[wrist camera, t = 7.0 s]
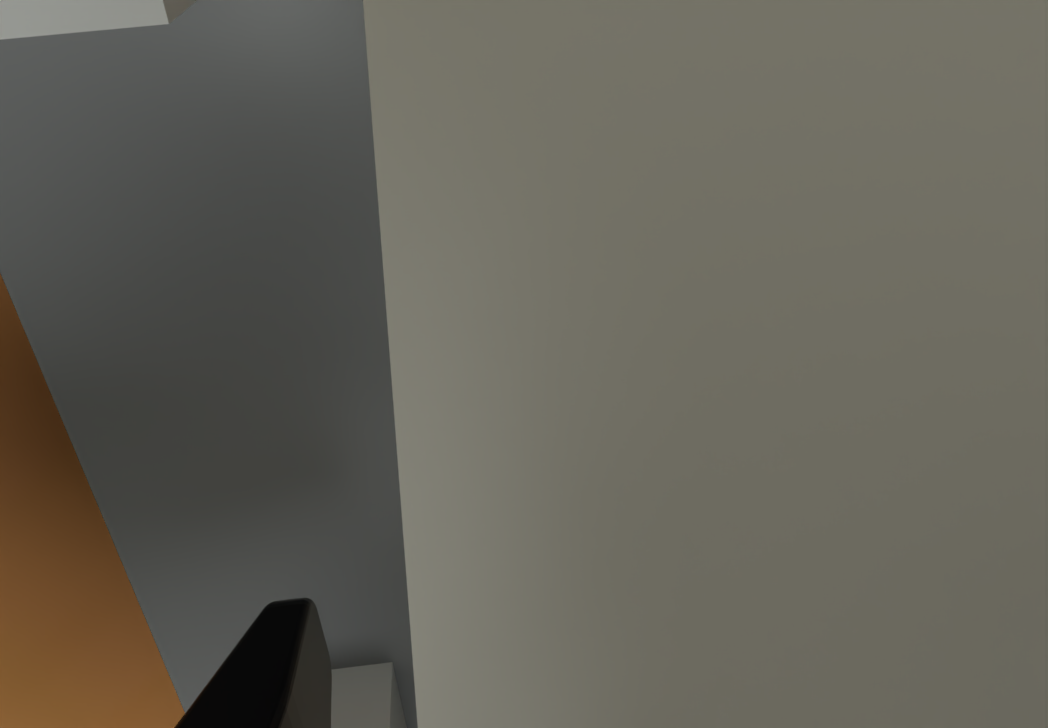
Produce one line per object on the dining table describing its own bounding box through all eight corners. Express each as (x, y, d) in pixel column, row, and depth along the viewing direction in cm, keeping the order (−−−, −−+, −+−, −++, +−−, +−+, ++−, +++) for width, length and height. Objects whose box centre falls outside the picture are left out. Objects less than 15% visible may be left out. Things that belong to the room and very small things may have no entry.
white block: (751, 780, 15) (880, 1169, 11) (446, 805, 14) (454, 1219, 10) (1073, -576, 6) (2287, -1296, 2) (370, -616, 6) (242, -1592, 2)
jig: (976, 751, 17) (1094, 955, 14) (272, 843, 16) (237, 1075, 13) (1543, -1058, 6) (2578, -1857, 3) (-428, -966, 6) (-1368, -1818, 3)
